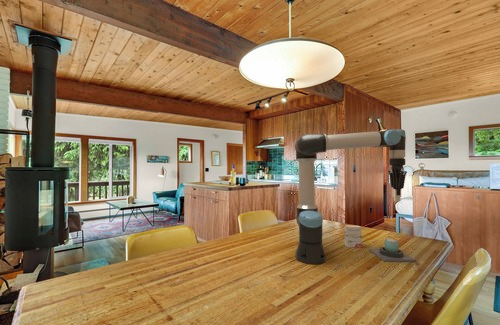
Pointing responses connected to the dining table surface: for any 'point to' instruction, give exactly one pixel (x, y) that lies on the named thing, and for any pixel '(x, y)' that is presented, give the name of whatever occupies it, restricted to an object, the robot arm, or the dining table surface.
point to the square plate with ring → (392, 255)
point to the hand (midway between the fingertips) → (397, 201)
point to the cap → (391, 245)
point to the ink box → (353, 236)
